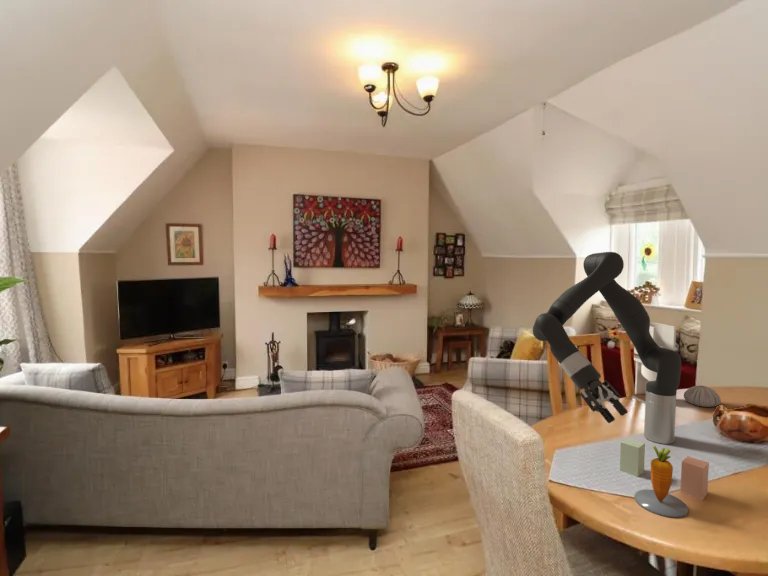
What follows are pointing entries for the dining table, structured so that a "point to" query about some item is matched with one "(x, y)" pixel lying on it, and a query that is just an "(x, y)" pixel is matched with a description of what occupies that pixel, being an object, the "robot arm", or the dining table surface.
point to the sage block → (632, 457)
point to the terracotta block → (694, 477)
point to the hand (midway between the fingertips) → (618, 417)
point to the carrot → (661, 473)
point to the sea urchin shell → (702, 396)
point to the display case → (664, 339)
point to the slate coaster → (661, 504)
